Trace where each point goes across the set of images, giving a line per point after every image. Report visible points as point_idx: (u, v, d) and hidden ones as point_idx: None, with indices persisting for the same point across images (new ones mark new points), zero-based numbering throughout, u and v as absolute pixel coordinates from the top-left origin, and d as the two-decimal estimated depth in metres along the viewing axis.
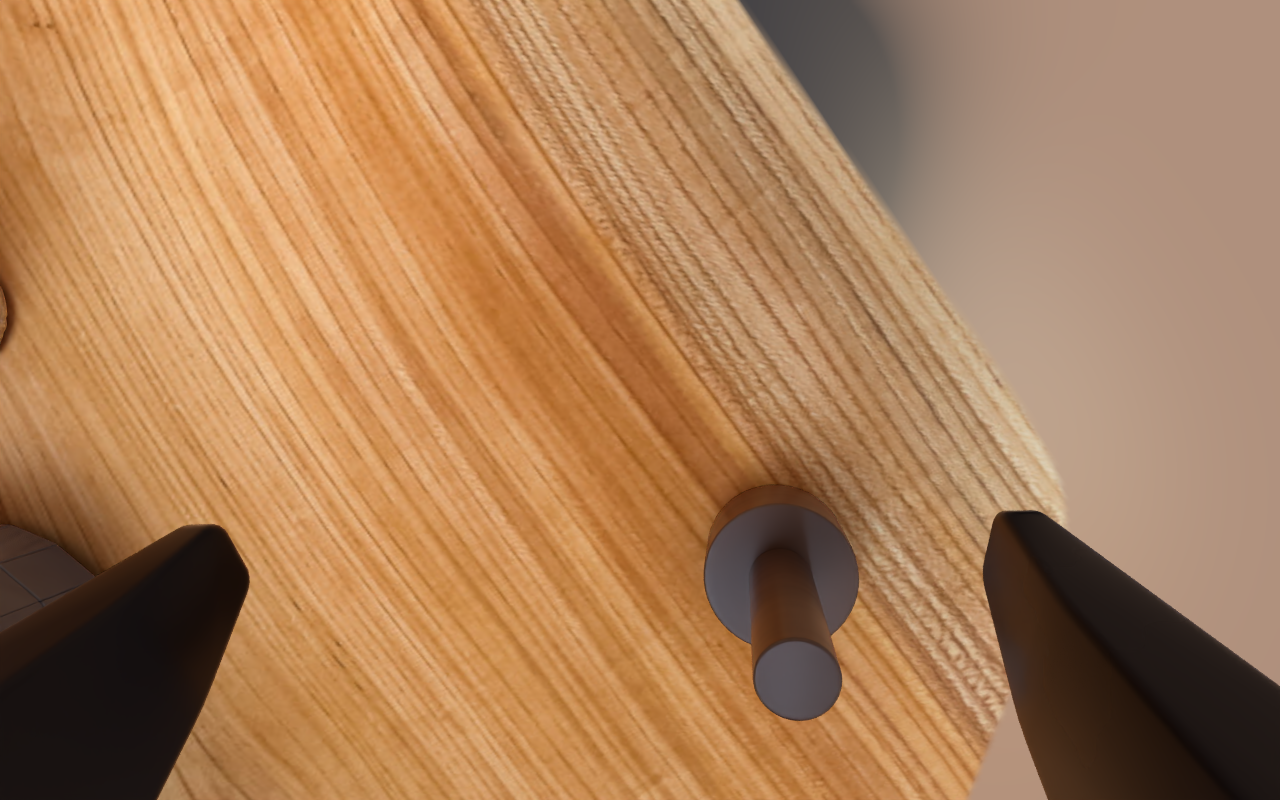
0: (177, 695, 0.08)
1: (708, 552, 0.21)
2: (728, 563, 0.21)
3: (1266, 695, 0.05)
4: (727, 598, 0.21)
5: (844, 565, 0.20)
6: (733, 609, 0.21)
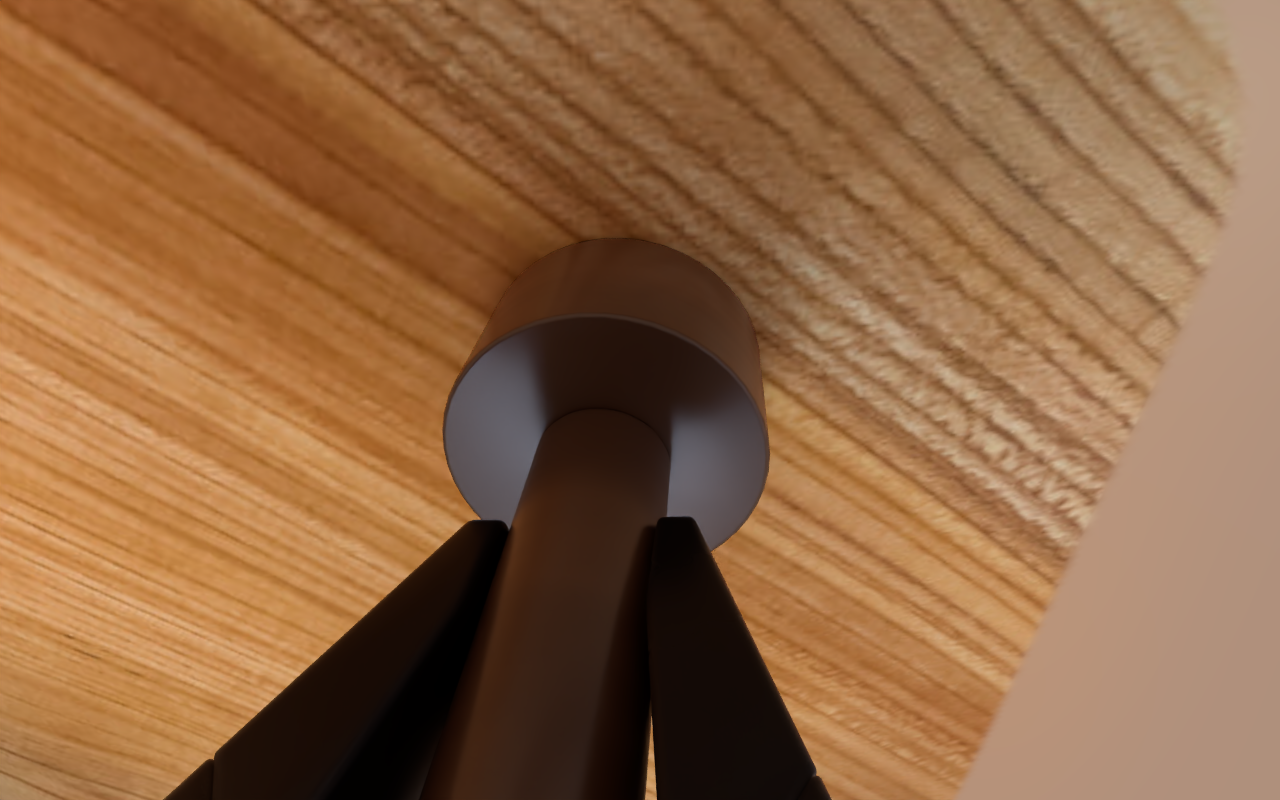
0: None
1: (445, 448, 0.10)
2: (492, 458, 0.10)
3: (751, 688, 0.05)
4: None
5: (726, 408, 0.09)
6: None
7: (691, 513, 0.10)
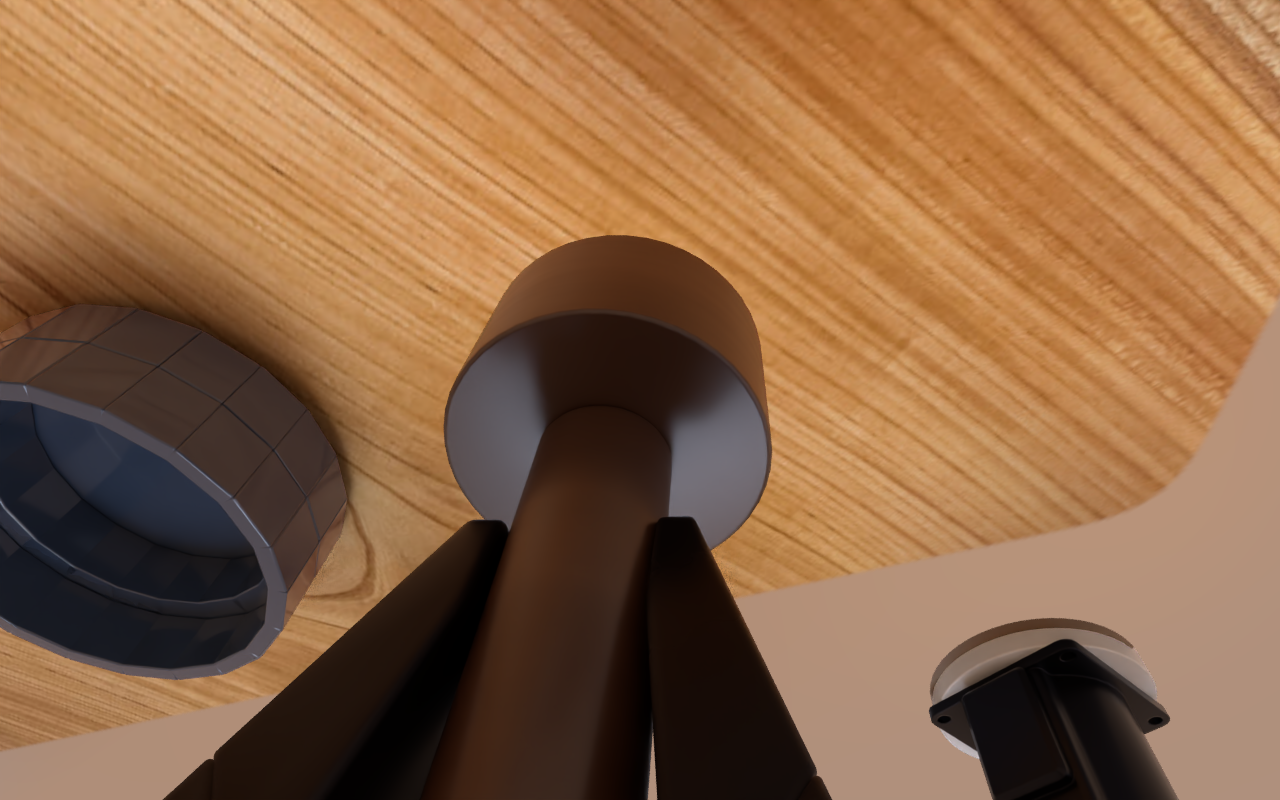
0: None
1: (446, 445, 0.10)
2: (493, 456, 0.10)
3: (751, 688, 0.05)
4: None
5: (728, 404, 0.09)
6: None
7: (693, 511, 0.10)
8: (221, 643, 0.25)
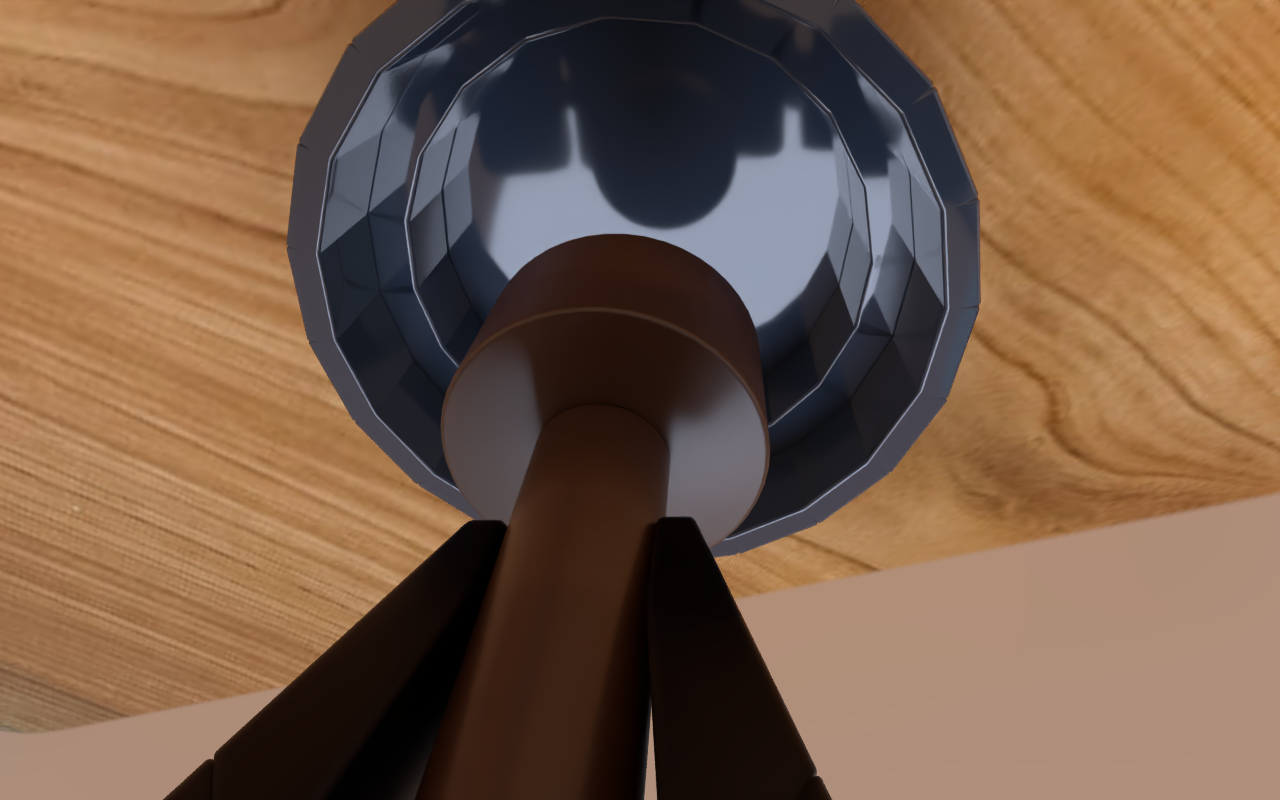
0: None
1: (443, 444, 0.10)
2: (490, 455, 0.10)
3: (751, 688, 0.05)
4: None
5: (726, 403, 0.09)
6: None
7: (691, 510, 0.10)
8: None
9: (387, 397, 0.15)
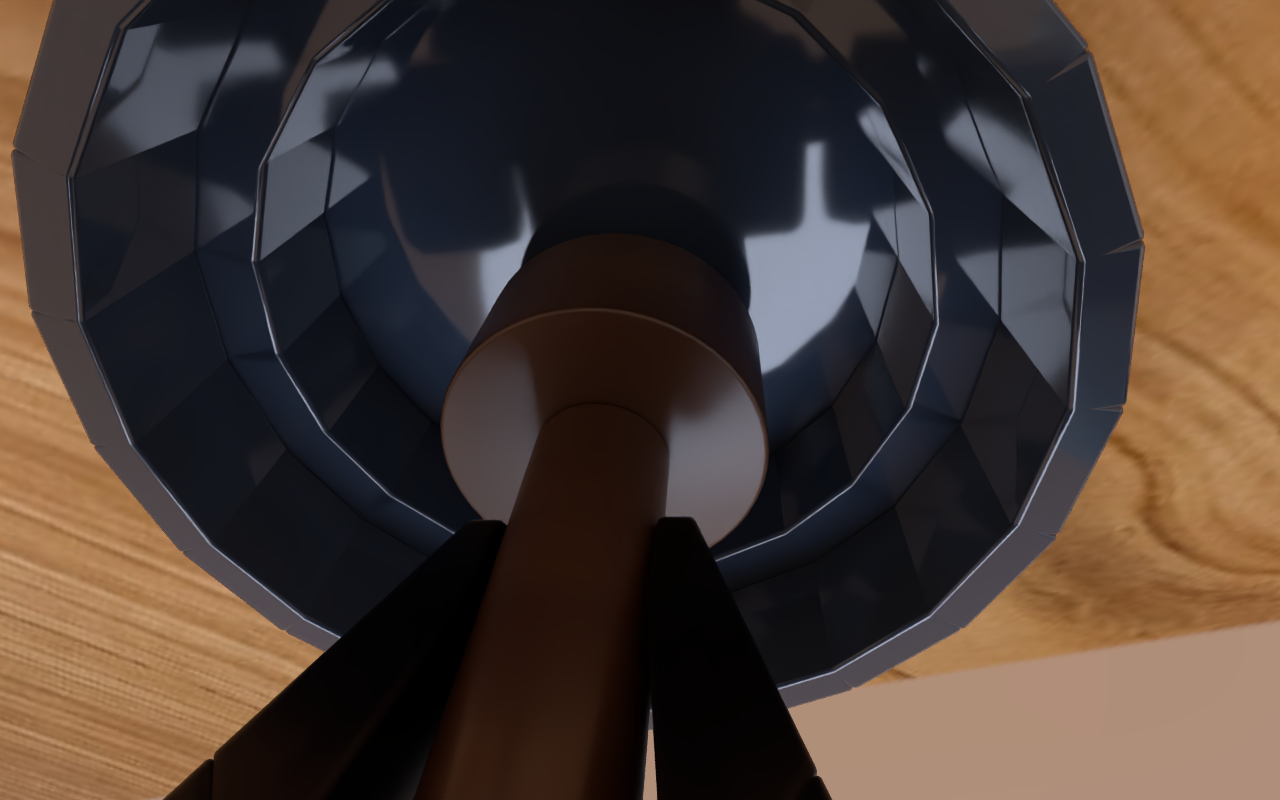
0: None
1: (442, 444, 0.10)
2: (489, 454, 0.10)
3: (751, 688, 0.05)
4: None
5: (726, 403, 0.09)
6: None
7: (690, 509, 0.10)
8: None
9: (233, 513, 0.10)
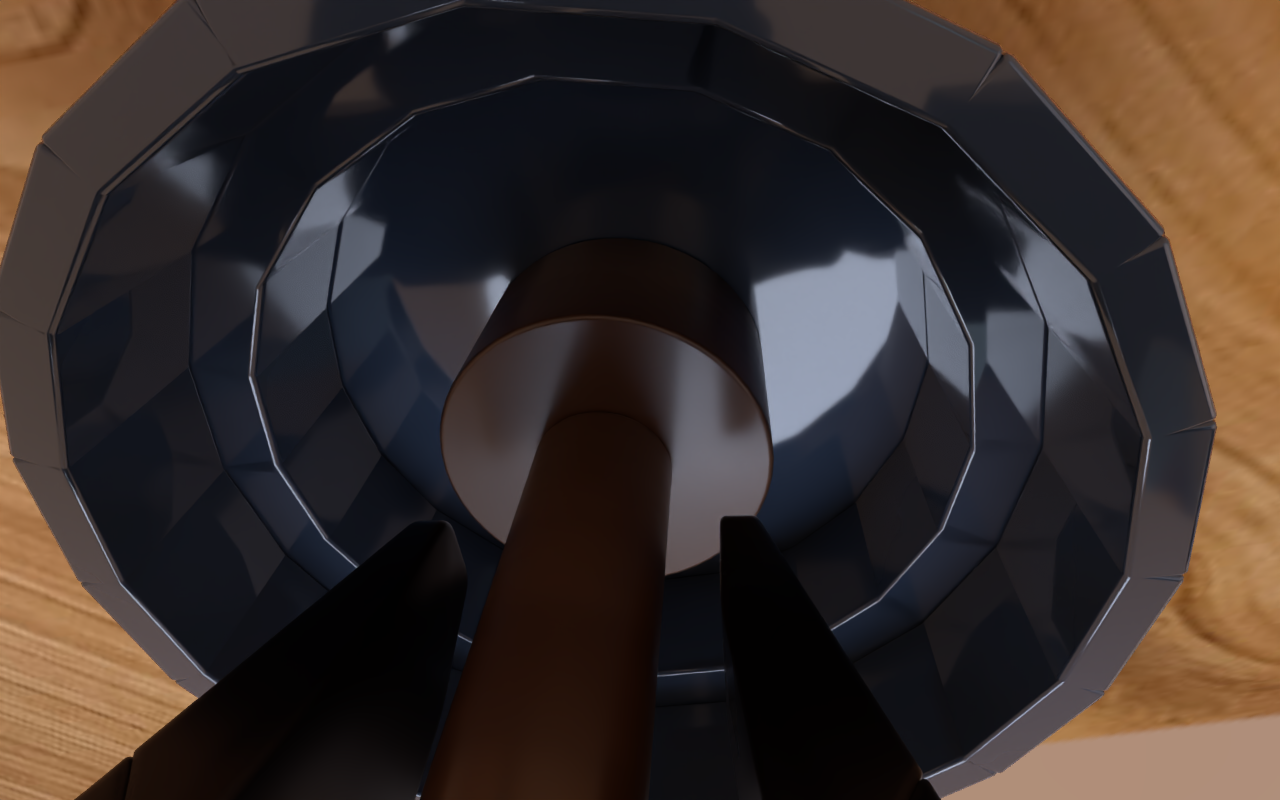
0: (425, 699, 0.08)
1: (442, 452, 0.10)
2: (489, 463, 0.10)
3: (844, 689, 0.05)
4: None
5: (729, 411, 0.09)
6: None
7: (693, 518, 0.10)
8: (730, 773, 0.11)
9: (228, 636, 0.10)
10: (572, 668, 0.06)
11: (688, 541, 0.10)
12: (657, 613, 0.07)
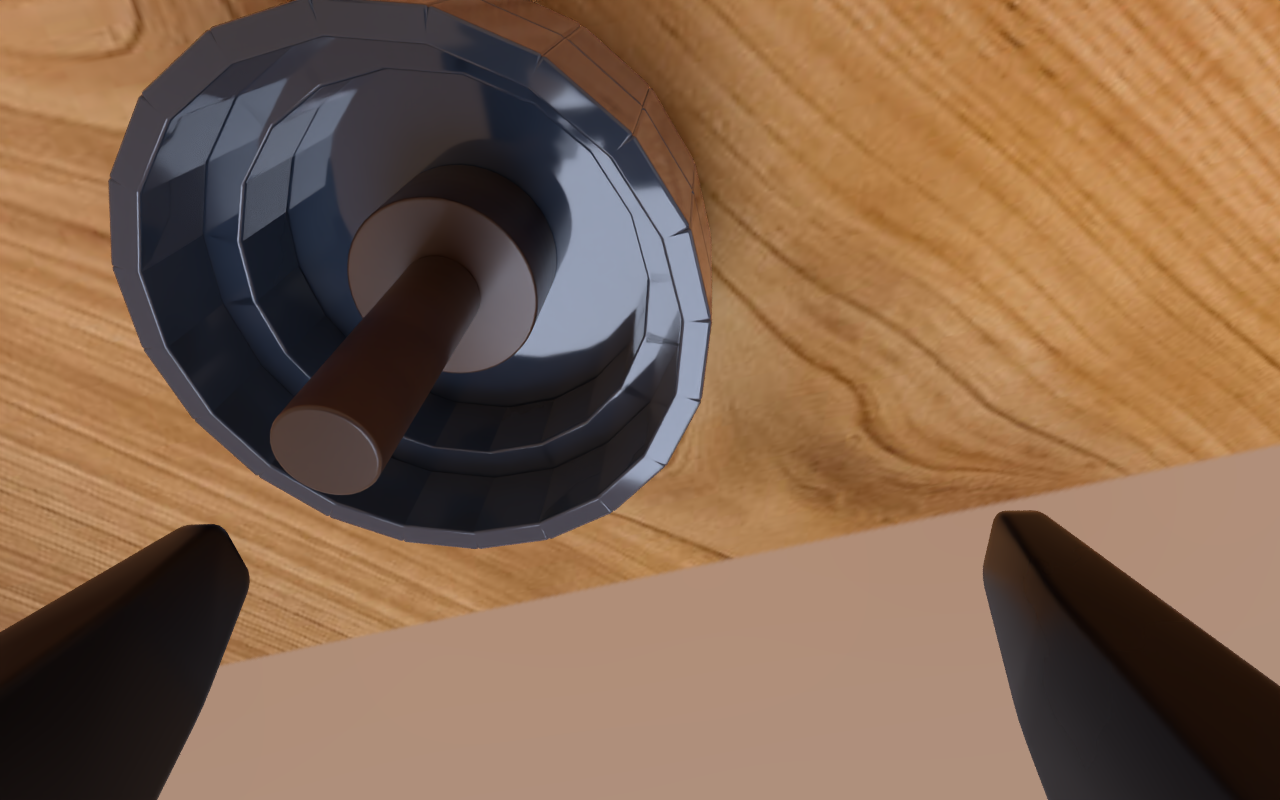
0: (177, 695, 0.08)
1: (349, 286, 0.17)
2: (377, 292, 0.17)
3: (1266, 695, 0.05)
4: None
5: (505, 254, 0.16)
6: None
7: (498, 326, 0.17)
8: (537, 500, 0.18)
9: (226, 398, 0.17)
10: (383, 336, 0.13)
11: (497, 343, 0.17)
12: (442, 338, 0.14)
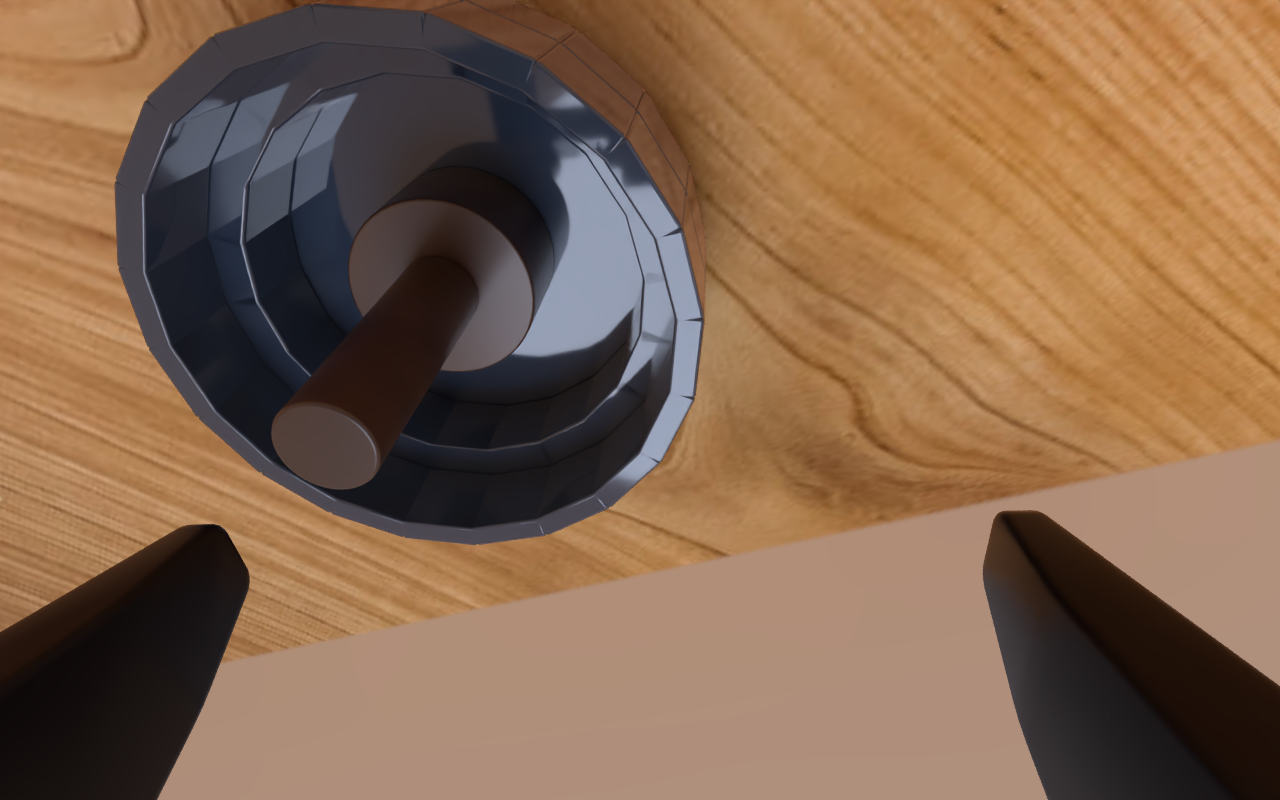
0: (177, 695, 0.08)
1: (350, 286, 0.17)
2: (377, 292, 0.17)
3: (1266, 695, 0.05)
4: None
5: (502, 255, 0.16)
6: None
7: (495, 326, 0.17)
8: (534, 497, 0.19)
9: (229, 396, 0.17)
10: (382, 335, 0.13)
11: (495, 342, 0.17)
12: (440, 336, 0.14)
